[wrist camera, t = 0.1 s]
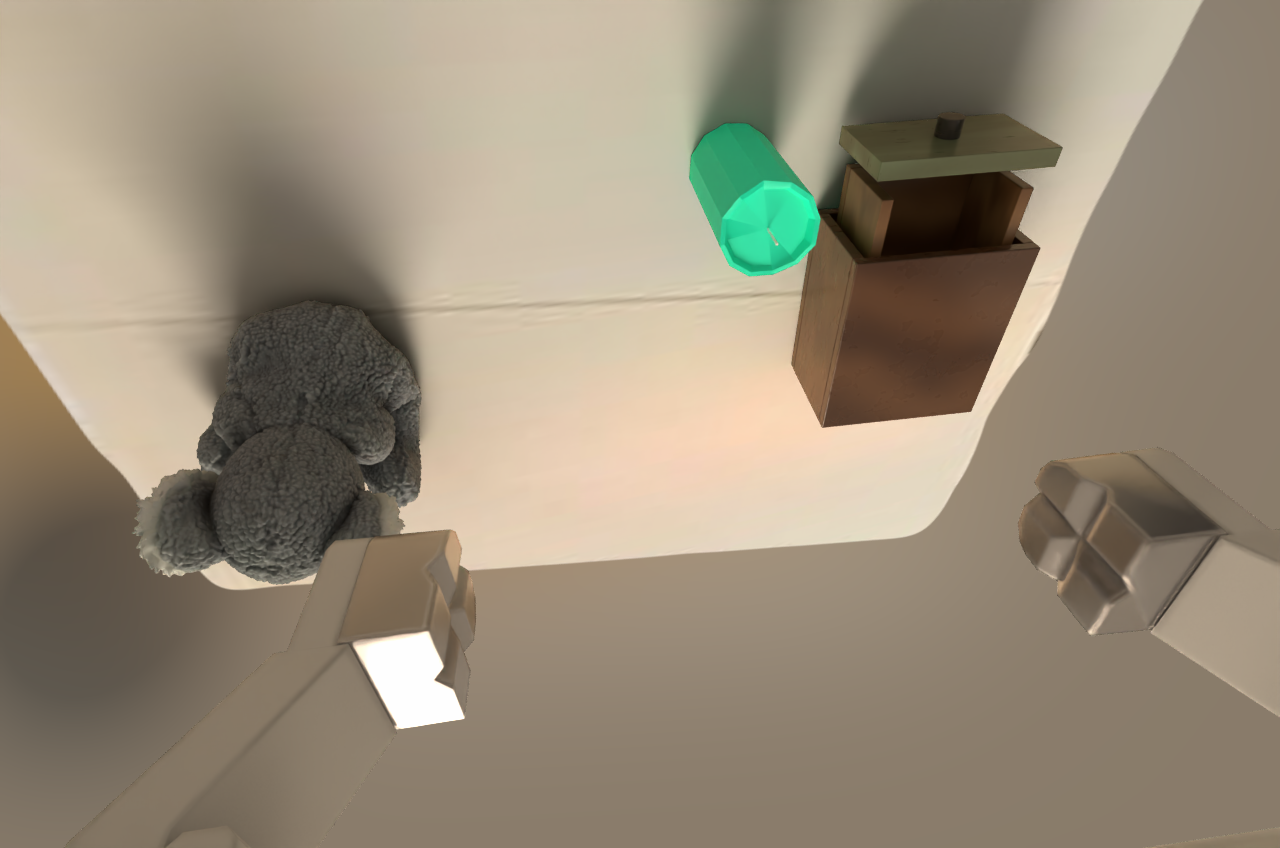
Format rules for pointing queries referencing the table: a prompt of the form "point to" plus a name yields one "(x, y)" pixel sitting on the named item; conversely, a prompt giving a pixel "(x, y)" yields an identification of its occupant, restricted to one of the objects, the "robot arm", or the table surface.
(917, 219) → the drawer
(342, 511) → the koala plush
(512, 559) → the table surface
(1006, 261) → the cabinet
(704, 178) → the candle
